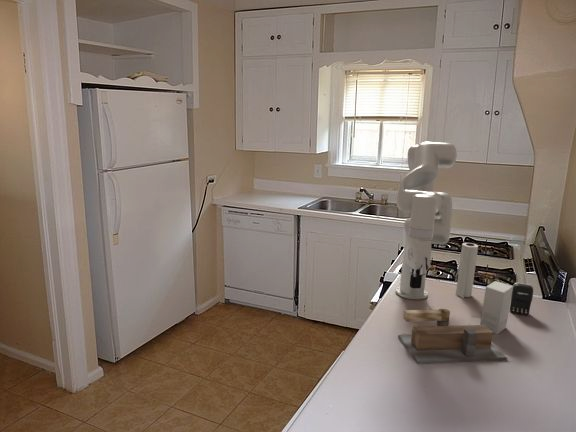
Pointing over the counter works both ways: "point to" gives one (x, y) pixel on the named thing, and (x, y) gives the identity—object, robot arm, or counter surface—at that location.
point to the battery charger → (521, 298)
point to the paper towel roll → (466, 269)
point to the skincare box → (496, 306)
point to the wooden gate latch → (451, 344)
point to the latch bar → (426, 315)
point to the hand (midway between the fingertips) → (415, 287)
